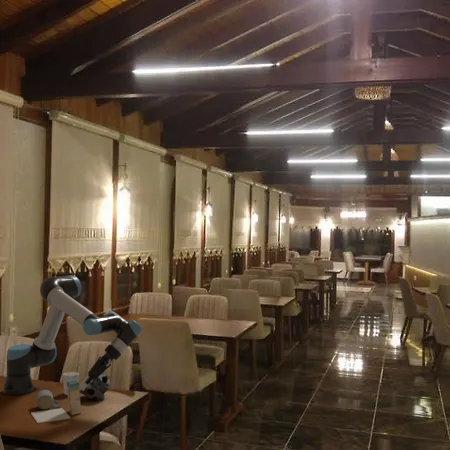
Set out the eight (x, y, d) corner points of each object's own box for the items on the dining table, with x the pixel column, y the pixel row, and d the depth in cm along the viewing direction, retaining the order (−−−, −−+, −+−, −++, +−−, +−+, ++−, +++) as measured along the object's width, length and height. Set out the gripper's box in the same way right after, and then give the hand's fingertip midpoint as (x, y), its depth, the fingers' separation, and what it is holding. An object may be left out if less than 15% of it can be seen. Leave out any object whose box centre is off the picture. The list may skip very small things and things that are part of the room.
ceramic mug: (37, 411, 263) (37, 394, 263) (35, 406, 270) (36, 390, 270) (60, 409, 267) (61, 392, 267) (59, 404, 274) (59, 388, 274)
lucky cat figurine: (84, 393, 292) (98, 368, 295) (104, 404, 289) (117, 379, 292) (73, 392, 278) (88, 366, 281) (94, 404, 275) (108, 377, 278)
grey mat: (30, 413, 259) (30, 412, 259) (62, 409, 266) (62, 408, 266) (37, 423, 245) (37, 422, 245) (70, 418, 252) (70, 417, 252)
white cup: (82, 392, 294) (82, 373, 294) (70, 396, 287) (70, 376, 288) (71, 390, 298) (71, 371, 299) (59, 394, 292) (59, 374, 292)
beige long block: (69, 411, 263) (66, 381, 262) (77, 409, 265) (75, 379, 264) (72, 414, 257) (69, 384, 257) (81, 412, 259) (78, 382, 259)
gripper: (125, 356, 266) (90, 397, 257) (116, 351, 277) (82, 390, 269) (114, 346, 263) (78, 387, 255) (106, 341, 275) (71, 380, 266)
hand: (80, 388), depth 262 cm, fingers closed
